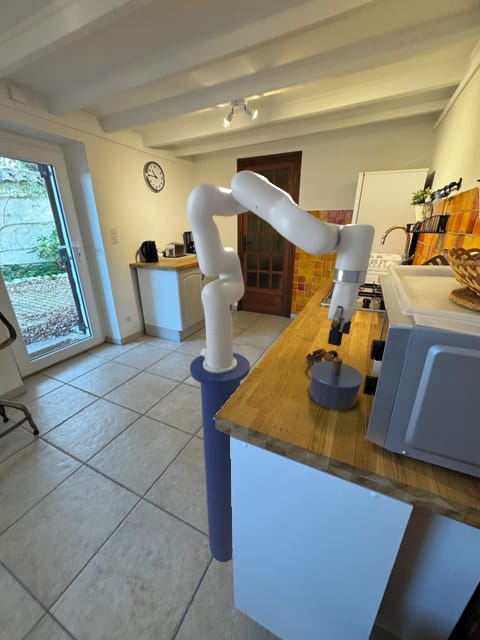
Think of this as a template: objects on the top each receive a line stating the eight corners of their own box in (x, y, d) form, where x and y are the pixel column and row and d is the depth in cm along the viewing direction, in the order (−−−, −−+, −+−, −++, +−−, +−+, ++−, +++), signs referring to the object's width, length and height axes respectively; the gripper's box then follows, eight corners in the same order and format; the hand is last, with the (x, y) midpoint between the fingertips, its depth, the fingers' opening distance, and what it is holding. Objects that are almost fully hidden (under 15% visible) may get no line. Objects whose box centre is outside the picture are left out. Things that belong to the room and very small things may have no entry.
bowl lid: (303, 380, 71) (304, 362, 69) (318, 360, 82) (320, 344, 81) (357, 397, 64) (360, 378, 62) (366, 373, 75) (369, 355, 73)
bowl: (302, 399, 74) (305, 378, 71) (317, 378, 84) (319, 359, 82) (351, 416, 67) (355, 394, 64) (360, 391, 77) (364, 371, 75)
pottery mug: (325, 381, 83) (314, 358, 83) (307, 379, 92) (298, 358, 91) (349, 364, 88) (339, 342, 87) (330, 363, 96) (321, 344, 96)
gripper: (342, 270, 72) (333, 326, 78) (324, 279, 59) (315, 346, 65) (371, 273, 69) (359, 332, 74) (359, 284, 55) (345, 354, 61)
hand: (338, 338), depth 70 cm, fingers open, 9 cm apart
